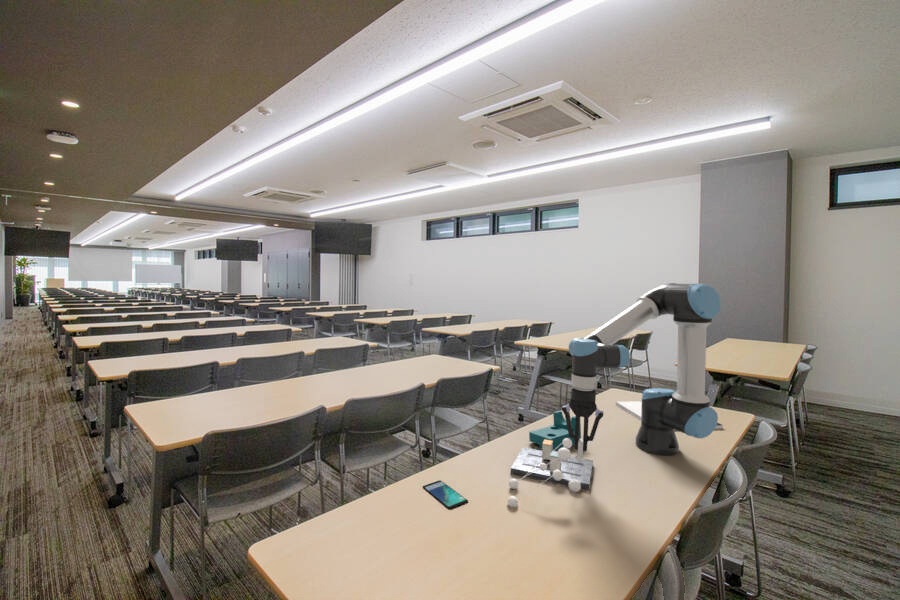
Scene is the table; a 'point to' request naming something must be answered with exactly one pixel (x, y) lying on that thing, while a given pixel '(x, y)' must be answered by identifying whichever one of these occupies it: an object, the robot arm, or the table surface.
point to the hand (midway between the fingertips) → (580, 459)
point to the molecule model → (557, 474)
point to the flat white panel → (636, 410)
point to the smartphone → (445, 494)
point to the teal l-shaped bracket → (554, 432)
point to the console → (533, 457)
